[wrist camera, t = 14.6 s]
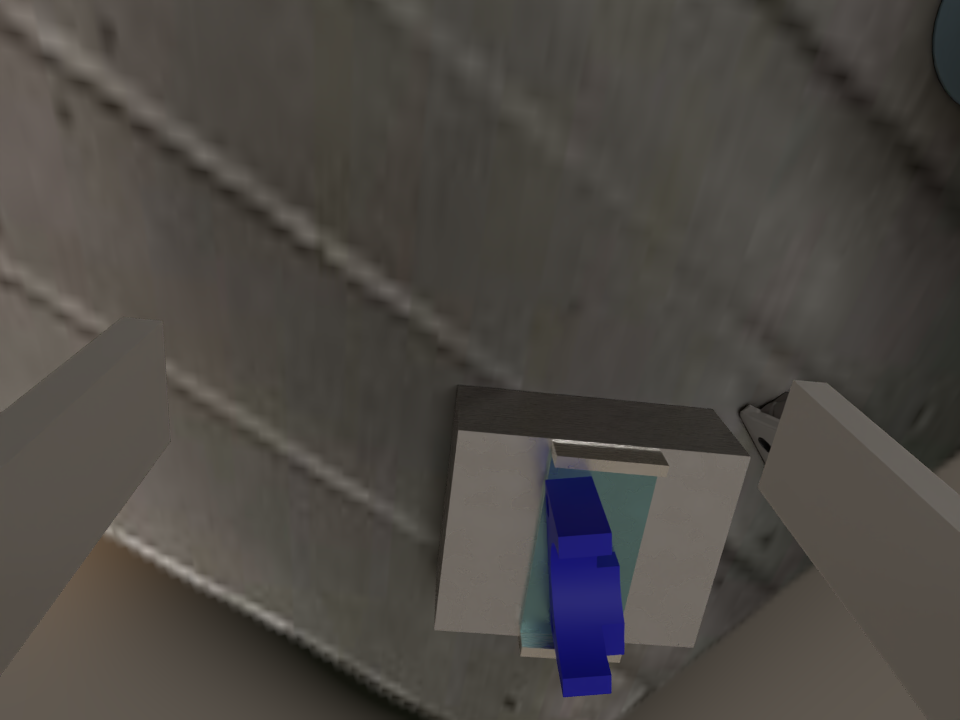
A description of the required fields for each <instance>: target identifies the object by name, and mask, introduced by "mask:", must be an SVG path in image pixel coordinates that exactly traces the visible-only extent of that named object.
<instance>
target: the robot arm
mask: <svg viewBox="0 0 960 720" xmlns="http://www.w3.org/2000/svg"><path fill="white" fill-rule="evenodd" d="M170 442H171V438H170V423H169V408H168V393H167V377H166V362H165V347H164V331H163V321H161V320H150V319H140V318H129V317H122V318H121V319H119V320H118V321H117V322H116V323H114V324H113V325H112V326H110V327H109V328H108V329H107V330H105V331H104V332H103V333H102V334H100V335H99V336H98V337H97V338H95V339H94V340H93V341H91V342H90V343H89V344H88V345H86V346H85V347H84V348H83V349H81V350H80V351H79V352H77V353H76V354H75V355H74V356H72V357H71V358H70V359H69V360H67V361H66V362H65V363H64V364H62V365H61V366H60V367H58V368H57V369H56V370H55V371H53V372H52V373H51V374H50V375H48V376H47V377H46V378H45V379H43V380H42V381H41V382H39V383H38V384H37V385H36V386H34V387H33V388H32V389H31V390H29V391H28V392H27V393H26V394H24V395H23V396H22V397H20V398H19V399H18V400H17V401H15V402H14V403H13V404H12V405H10V406H9V407H8V408H7V409H5V410H4V411H3V412H1V413H0V676H1V674H2V673H3V672H4V670H5V669H6V668H7V666H8V665H9V663H10V662H11V661H12V659H13V658H14V656H15V655H16V654H17V652H18V651H19V650H20V648H21V647H22V646H23V644H24V643H25V641H26V640H27V639H28V637H29V636H30V634H31V633H32V632H33V630H34V629H35V628H36V626H37V625H38V623H39V622H40V620H41V619H42V618H43V617H44V615H45V614H46V612H47V611H48V610H49V608H50V607H51V605H52V604H53V603H54V601H55V600H56V599H57V597H58V595H60V593H61V592H62V590H63V589H64V588H65V586H66V585H67V583H68V582H69V581H70V579H71V578H72V576H73V575H74V574H75V572H76V571H77V570H78V568H79V567H80V565H81V564H82V563H83V561H84V560H85V559H86V557H87V556H88V554H89V553H90V552H91V550H92V549H93V548H94V546H95V545H96V544H97V542H98V541H99V539H100V538H101V537H102V535H103V534H104V532H105V531H106V530H107V528H108V527H109V526H110V524H111V523H112V521H113V520H114V519H115V517H116V516H117V515H118V513H119V512H120V510H121V509H122V508H123V506H124V505H125V504H126V502H127V501H128V499H129V498H130V497H131V495H132V494H133V493H134V491H135V490H136V488H137V487H138V486H139V484H140V483H141V481H142V480H143V479H144V477H145V476H146V475H147V473H148V472H149V470H150V469H151V468H152V466H153V465H154V464H155V462H156V461H157V459H158V458H159V457H160V455H161V454H162V453H163V451H164V450H165V448H166V447H167V446H168V444H169V443H170ZM758 489H759V490H760V491H761V493H762V494H763V496H764V497H765V498H766V500H767V501H768V502H769V504H770V505H771V507H772V508H773V509H774V511H775V512H776V513H777V515H778V516H779V517H780V519H781V520H782V522H783V523H784V524H785V526H786V527H787V528H788V530H789V531H790V532H791V534H792V535H793V537H794V538H795V539H796V541H797V542H798V543H799V545H800V546H801V548H802V549H803V550H804V552H805V553H806V554H807V556H808V557H809V558H810V560H811V561H812V563H813V564H814V565H815V567H816V568H817V569H818V571H819V572H820V573H821V575H822V576H823V578H824V579H825V580H826V582H827V583H828V584H829V586H830V587H831V589H832V590H833V591H834V593H835V594H836V595H837V597H838V598H839V599H840V601H841V602H842V604H843V605H844V606H845V607H846V609H847V610H848V612H849V613H850V614H851V616H852V617H853V618H854V620H855V621H856V623H857V624H858V625H859V627H860V628H861V629H862V631H863V632H864V634H865V635H866V636H867V638H868V639H869V640H870V642H871V643H872V645H873V646H874V647H875V649H876V650H877V651H878V653H879V654H880V655H881V657H882V658H883V659H884V661H885V662H886V663H887V665H888V666H889V668H890V669H891V671H892V672H893V673H894V674H895V676H896V677H897V679H898V680H899V681H900V683H901V684H902V686H903V687H904V688H905V690H906V691H907V692H908V694H909V695H910V697H911V698H912V699H913V701H914V702H915V703H916V705H917V706H918V707H919V709H920V710H921V712H922V713H923V714H924V716H925V717H926V718H927V720H960V495H959V494H958V493H957V492H956V491H954V490H953V489H952V488H951V487H950V486H948V485H947V484H946V483H945V482H944V481H943V480H941V479H940V478H939V477H938V476H937V475H935V474H934V473H933V472H932V471H931V470H929V469H928V468H927V467H926V466H925V465H924V464H922V463H921V462H920V461H919V460H918V459H916V458H915V457H914V456H913V455H912V454H911V453H909V452H908V451H907V450H906V449H905V448H903V447H902V446H901V445H900V444H899V443H897V442H896V441H895V440H894V439H893V438H892V437H890V436H889V435H888V434H887V433H886V432H884V431H883V430H882V429H881V428H880V427H879V426H877V425H876V424H875V423H874V422H873V421H871V420H870V419H869V418H868V417H867V416H865V415H864V414H863V413H862V412H861V411H860V410H858V409H857V408H856V407H855V406H854V405H852V404H851V403H850V402H849V401H848V400H846V399H845V398H844V397H843V396H842V395H841V394H839V393H838V392H837V391H836V390H835V389H833V388H832V387H831V386H830V385H829V384H828V383H821V382H811V381H800V380H793V382H792V385H791V388H790V391H789V394H788V397H787V400H786V403H785V406H784V409H783V412H782V415H781V418H780V421H779V425H778V428H777V431H776V434H775V437H774V440H773V443H772V446H771V449H770V452H769V455H768V458H767V461H766V464H765V467H764V470H763V473H762V476H761V479H760V482H759V485H758Z"/></svg>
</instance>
